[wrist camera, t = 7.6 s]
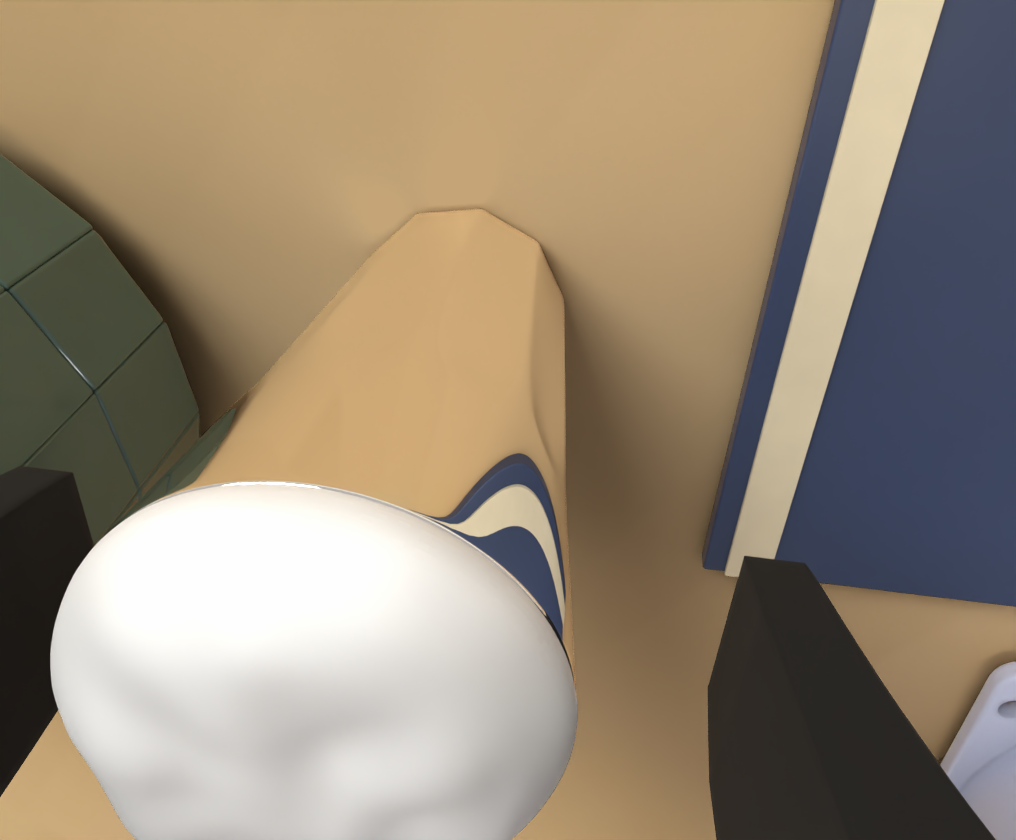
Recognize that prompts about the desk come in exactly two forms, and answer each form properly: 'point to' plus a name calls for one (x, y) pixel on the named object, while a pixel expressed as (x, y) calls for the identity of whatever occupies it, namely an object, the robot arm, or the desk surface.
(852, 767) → the robot arm
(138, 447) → the bowl
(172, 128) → the desk surface
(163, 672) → the milkshake
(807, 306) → the blue notebook
